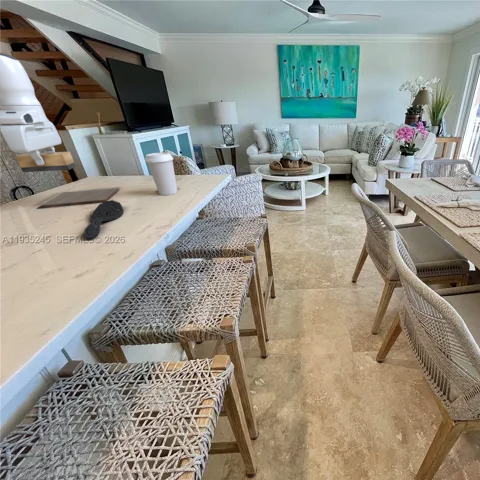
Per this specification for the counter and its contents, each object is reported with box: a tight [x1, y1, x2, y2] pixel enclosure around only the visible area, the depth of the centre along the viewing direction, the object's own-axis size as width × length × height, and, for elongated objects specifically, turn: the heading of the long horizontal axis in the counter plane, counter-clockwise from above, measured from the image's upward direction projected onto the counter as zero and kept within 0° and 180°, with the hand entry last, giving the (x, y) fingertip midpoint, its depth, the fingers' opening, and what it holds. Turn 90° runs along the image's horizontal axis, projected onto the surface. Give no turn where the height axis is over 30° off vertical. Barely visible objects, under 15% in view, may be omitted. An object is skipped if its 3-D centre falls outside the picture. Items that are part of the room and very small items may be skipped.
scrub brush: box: [14, 151, 77, 173], centre depth 86 cm, size 12×5×5 cm, turn 108°
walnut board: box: [36, 187, 120, 209], centre depth 100 cm, size 20×16×1 cm
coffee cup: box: [144, 152, 178, 196], centre depth 103 cm, size 10×10×15 cm
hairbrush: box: [83, 199, 124, 241], centre depth 79 cm, size 8×4×25 cm
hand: (47, 162), depth 86 cm, fingers closed on scrub brush, 5 cm apart
